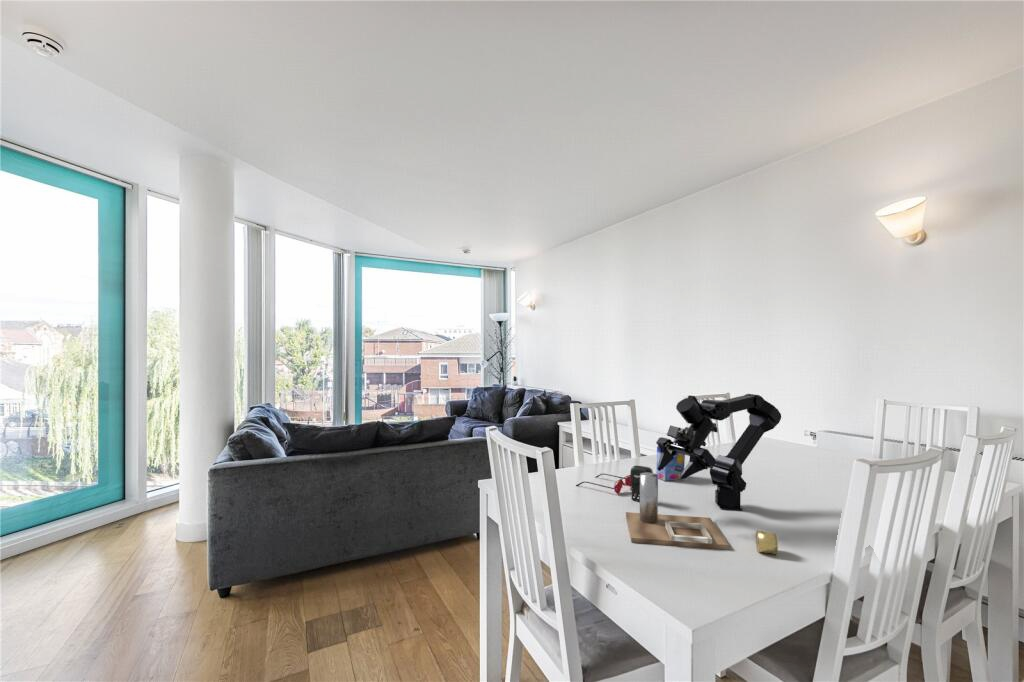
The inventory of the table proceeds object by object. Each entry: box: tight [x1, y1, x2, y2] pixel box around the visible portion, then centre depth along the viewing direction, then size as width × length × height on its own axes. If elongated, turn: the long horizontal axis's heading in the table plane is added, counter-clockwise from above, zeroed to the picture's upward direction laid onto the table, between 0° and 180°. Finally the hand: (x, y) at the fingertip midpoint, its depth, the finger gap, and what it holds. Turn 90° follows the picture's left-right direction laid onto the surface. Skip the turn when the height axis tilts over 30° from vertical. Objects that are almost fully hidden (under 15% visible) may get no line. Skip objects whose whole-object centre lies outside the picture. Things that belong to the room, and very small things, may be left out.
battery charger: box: [629, 464, 654, 503], centre depth 151 cm, size 7×4×11 cm, turn 56°
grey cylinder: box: [639, 472, 659, 524], centre depth 132 cm, size 5×5×13 cm
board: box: [625, 512, 730, 551], centre depth 127 cm, size 24×18×2 cm
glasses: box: [575, 473, 632, 495], centre depth 166 cm, size 14×16×5 cm
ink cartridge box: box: [655, 440, 686, 482], centre depth 176 cm, size 10×6×14 cm, turn 115°
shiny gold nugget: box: [755, 530, 779, 555], centre depth 115 cm, size 5×5×4 cm
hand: (669, 474), depth 135 cm, fingers open, 9 cm apart
